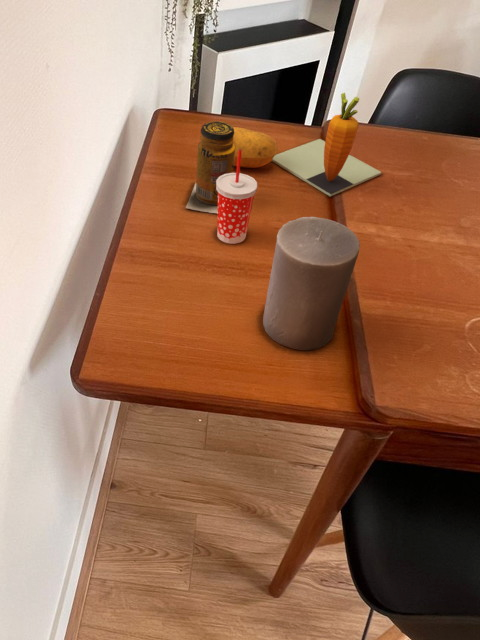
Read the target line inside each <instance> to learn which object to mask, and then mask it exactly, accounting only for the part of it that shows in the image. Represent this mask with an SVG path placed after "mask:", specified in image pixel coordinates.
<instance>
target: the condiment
mask: <svg viewBox="0 0 480 640" xmlns="http://www.w3.org/2000/svg"><path fill="white" fill-rule="evenodd" d="M233 127H234V126H233V125H231V124H230V123H227V122H225V121H220V120H219V121H218V120H214V121H213V120H212V121H209V122H206V123H204V124H203V125H201V128H200V138H199V139H200V141H199V142H198V145H197V153H196V154H197V155H196V159H197V160H196V179H195V183H194V186H193V188H192V191H191V194H190V196H189V199H188V201H187V203H186V206H185V209H189V210H191V211H192V210H193V211H199V212H204V213H208V214H217V215H218V191H217V190H216V180H217V179H218V178H219V176H222V175H224V174H228V173H234V166H233V163H234V155H235V146H234V144H233V142H234V128H233Z"/></svg>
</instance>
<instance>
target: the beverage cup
mask: <svg viewBox="0 0 480 640" xmlns="http://www.w3.org/2000/svg"><path fill="white" fill-rule="evenodd" d="M241 153H242V150H241V149H239V150H238V160H237V167H236V170H235V171H236V172H233V173H228V174H224V175H222V176H219V178H218V179H217V180H216V190H217V191H218V214H217V217H216V219H217V226H216V227H217V228H216V230H217V231H216V233H217V234H216V237H217V238H218V240H220V241H221V242H222V243H226V244H231V245H233V244H234V245H235V244H240V243H242V242H244V240H245V239H246V237H247V232H248V227H249V223H250V217H251V212H252V207H253V202H254V196H255V194H256V193H257V189H258V182H257V180H255V178H254V177H252V176H250V175H248V174H245V173H241V172H240V170H241V167H240V163H241Z"/></svg>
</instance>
